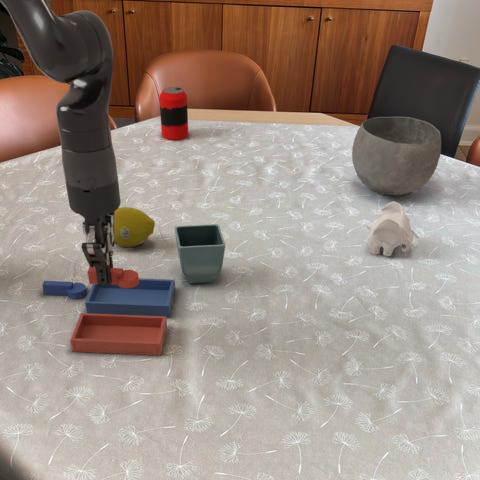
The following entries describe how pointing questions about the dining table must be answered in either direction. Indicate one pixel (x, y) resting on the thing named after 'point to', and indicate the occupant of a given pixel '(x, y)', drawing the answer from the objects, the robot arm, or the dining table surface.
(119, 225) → the lemon
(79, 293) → the blue spoon
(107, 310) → the blue tray
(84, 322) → the red tray
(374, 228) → the elephant figurine
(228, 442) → the dining table surface
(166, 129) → the soda can
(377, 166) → the bowl
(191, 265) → the flower pot
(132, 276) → the red spoon
